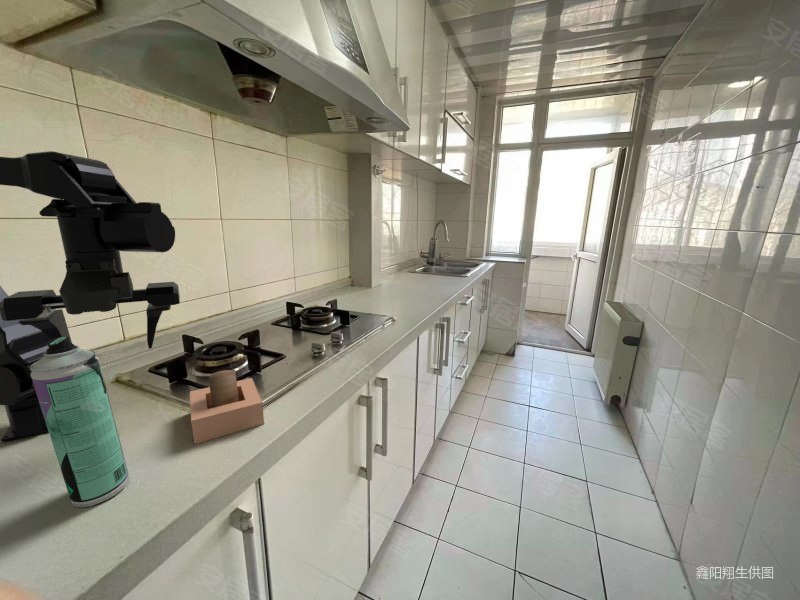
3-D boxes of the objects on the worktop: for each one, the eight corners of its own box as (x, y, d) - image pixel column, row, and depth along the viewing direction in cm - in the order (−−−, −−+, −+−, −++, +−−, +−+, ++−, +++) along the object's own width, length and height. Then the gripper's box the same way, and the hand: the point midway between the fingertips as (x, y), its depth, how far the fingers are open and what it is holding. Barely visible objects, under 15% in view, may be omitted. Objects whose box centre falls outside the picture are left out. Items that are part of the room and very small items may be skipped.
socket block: (192, 411, 58) (189, 391, 57) (253, 396, 63) (251, 377, 62) (194, 444, 50) (191, 420, 49) (264, 423, 55) (262, 402, 54)
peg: (213, 415, 57) (207, 373, 55) (238, 409, 59) (234, 368, 57) (214, 427, 54) (209, 383, 52) (241, 420, 56) (237, 377, 54)
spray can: (129, 466, 45) (93, 327, 40) (129, 490, 41) (89, 339, 36) (74, 486, 41) (28, 338, 37) (68, 515, 37) (15, 353, 32)
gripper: (-42, 259, 35) (-3, 392, 38) (171, 254, 45) (186, 359, 48) (4, 250, 44) (32, 358, 47) (173, 247, 54) (185, 337, 57)
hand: (113, 353), depth 50 cm, fingers open, 9 cm apart
